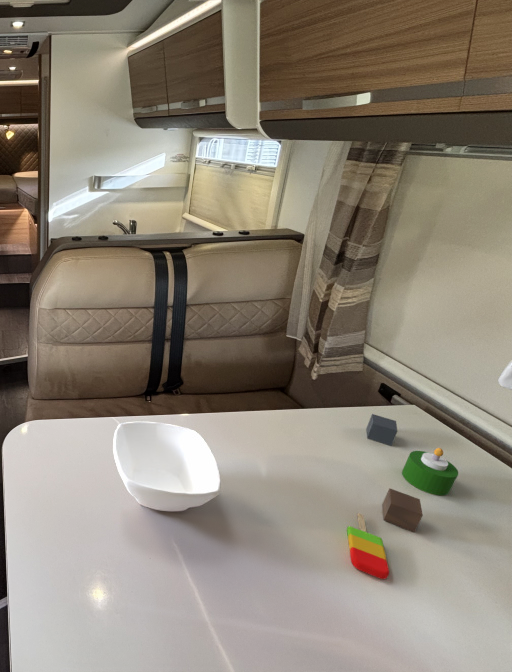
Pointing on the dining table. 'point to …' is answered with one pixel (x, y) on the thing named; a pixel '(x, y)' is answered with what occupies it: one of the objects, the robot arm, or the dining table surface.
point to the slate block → (381, 429)
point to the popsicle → (367, 551)
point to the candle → (430, 472)
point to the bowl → (165, 465)
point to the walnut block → (402, 510)
